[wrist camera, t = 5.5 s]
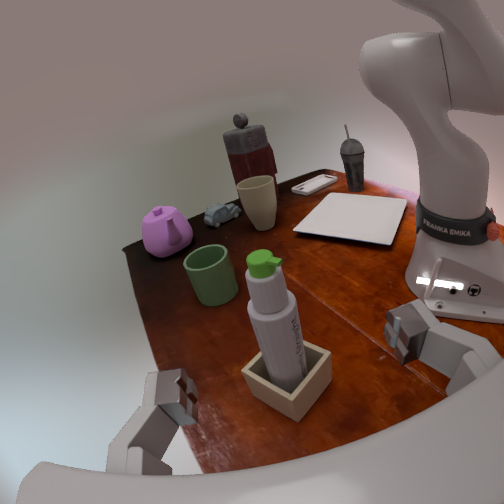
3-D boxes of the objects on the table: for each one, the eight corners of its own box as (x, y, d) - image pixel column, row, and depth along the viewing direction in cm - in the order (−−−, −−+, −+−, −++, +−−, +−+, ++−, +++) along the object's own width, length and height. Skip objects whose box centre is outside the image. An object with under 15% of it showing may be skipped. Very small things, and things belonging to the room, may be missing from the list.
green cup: (247, 285, 53) (236, 249, 49) (216, 312, 48) (201, 275, 44) (219, 274, 58) (207, 241, 54) (190, 297, 54) (175, 263, 50)
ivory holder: (332, 379, 32) (331, 352, 29) (298, 423, 28) (292, 401, 25) (287, 358, 37) (280, 329, 34) (252, 395, 33) (240, 370, 30)
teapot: (142, 248, 79) (126, 212, 73) (181, 228, 84) (168, 192, 78) (163, 274, 63) (143, 229, 57) (211, 247, 69) (196, 203, 63)
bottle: (289, 409, 30) (251, 281, 20) (268, 388, 33) (222, 259, 23) (317, 388, 31) (298, 252, 21) (294, 369, 35) (265, 236, 25)
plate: (390, 253, 50) (390, 243, 49) (293, 237, 64) (291, 229, 63) (407, 206, 64) (407, 199, 63) (330, 198, 78) (329, 191, 77)
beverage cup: (372, 188, 78) (366, 123, 68) (355, 195, 76) (347, 126, 66) (356, 183, 84) (349, 121, 74) (339, 189, 82) (330, 125, 72)
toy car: (242, 215, 82) (238, 199, 79) (213, 230, 77) (207, 214, 75) (230, 211, 86) (226, 196, 84) (202, 225, 82) (197, 210, 80)
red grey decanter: (285, 195, 88) (266, 107, 73) (258, 209, 82) (235, 115, 68) (266, 191, 94) (247, 110, 80) (240, 204, 89) (217, 118, 75)
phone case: (307, 196, 83) (338, 180, 89) (307, 191, 82) (338, 176, 88) (291, 192, 89) (322, 177, 94) (290, 188, 88) (321, 174, 94)
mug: (291, 226, 69) (282, 179, 63) (252, 238, 68) (240, 192, 62) (277, 211, 78) (268, 170, 72) (242, 222, 77) (231, 181, 71)
